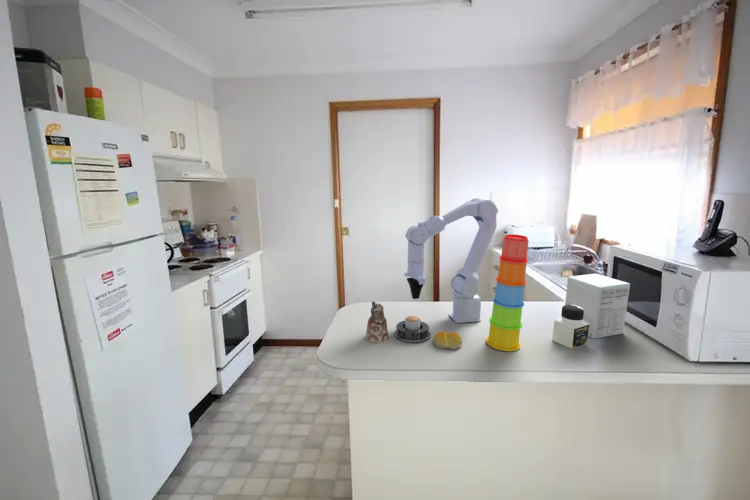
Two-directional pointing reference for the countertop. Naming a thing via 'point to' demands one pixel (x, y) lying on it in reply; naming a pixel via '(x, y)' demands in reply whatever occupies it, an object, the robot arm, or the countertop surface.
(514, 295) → the stacking cups
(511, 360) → the countertop surface
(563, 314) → the medicine bottle
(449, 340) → the bread roll
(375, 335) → the figurine
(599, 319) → the supplement box
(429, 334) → the toothed ring bowl
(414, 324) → the cup
